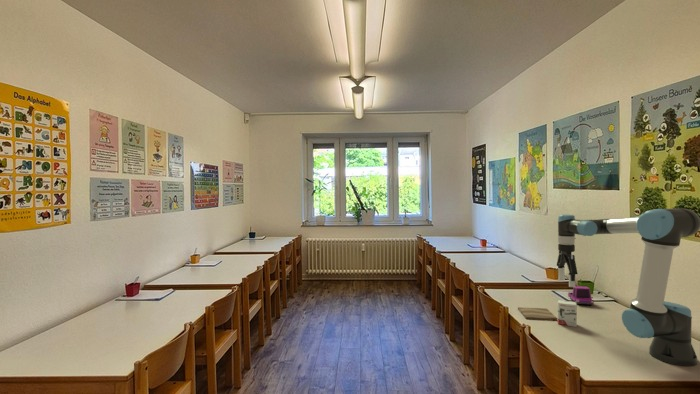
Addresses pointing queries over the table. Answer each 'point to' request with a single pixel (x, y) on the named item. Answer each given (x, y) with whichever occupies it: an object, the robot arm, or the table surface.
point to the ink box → (567, 313)
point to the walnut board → (537, 313)
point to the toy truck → (581, 295)
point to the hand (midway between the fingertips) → (566, 283)
